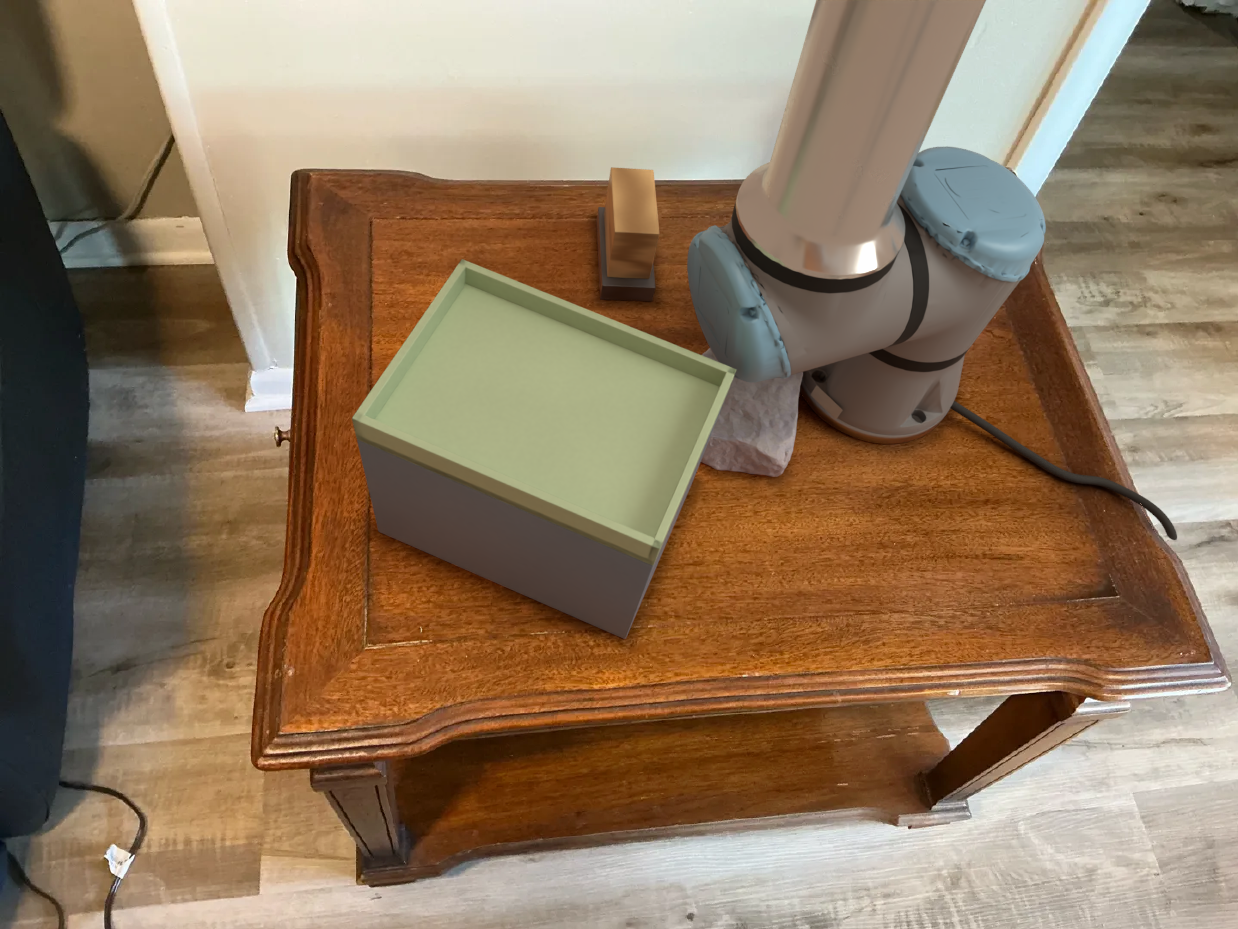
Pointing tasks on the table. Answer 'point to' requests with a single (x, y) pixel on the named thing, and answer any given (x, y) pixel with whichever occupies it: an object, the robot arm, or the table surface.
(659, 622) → the table surface
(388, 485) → the stand
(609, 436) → the tray
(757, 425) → the stone block
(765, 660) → the table surface
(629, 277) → the eraser
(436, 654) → the table surface
